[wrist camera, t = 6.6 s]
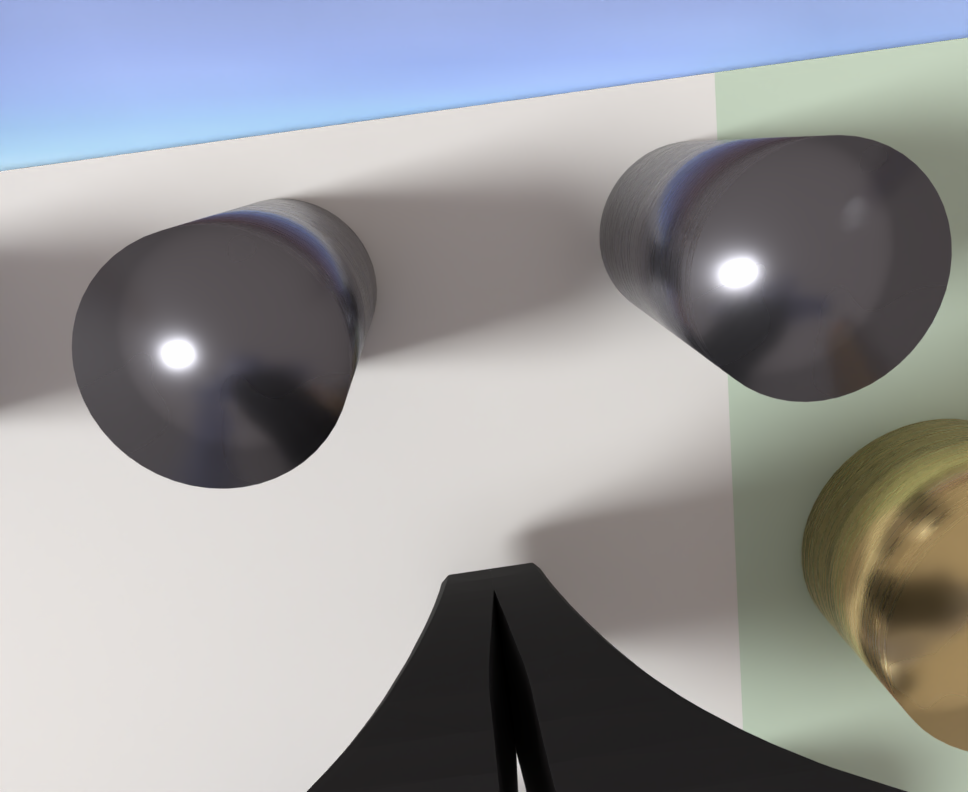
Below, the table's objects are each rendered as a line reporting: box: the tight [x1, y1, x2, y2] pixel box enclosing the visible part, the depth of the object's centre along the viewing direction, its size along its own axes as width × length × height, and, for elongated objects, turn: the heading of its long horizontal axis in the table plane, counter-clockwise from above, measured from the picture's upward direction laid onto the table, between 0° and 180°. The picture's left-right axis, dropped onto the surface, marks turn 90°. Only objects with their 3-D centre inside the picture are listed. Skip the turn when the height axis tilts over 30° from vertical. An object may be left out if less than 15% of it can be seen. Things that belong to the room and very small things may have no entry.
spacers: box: [72, 135, 952, 489], centre depth 10 cm, size 12×14×4 cm
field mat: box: [0, 38, 968, 792], centre depth 13 cm, size 14×20×1 cm
